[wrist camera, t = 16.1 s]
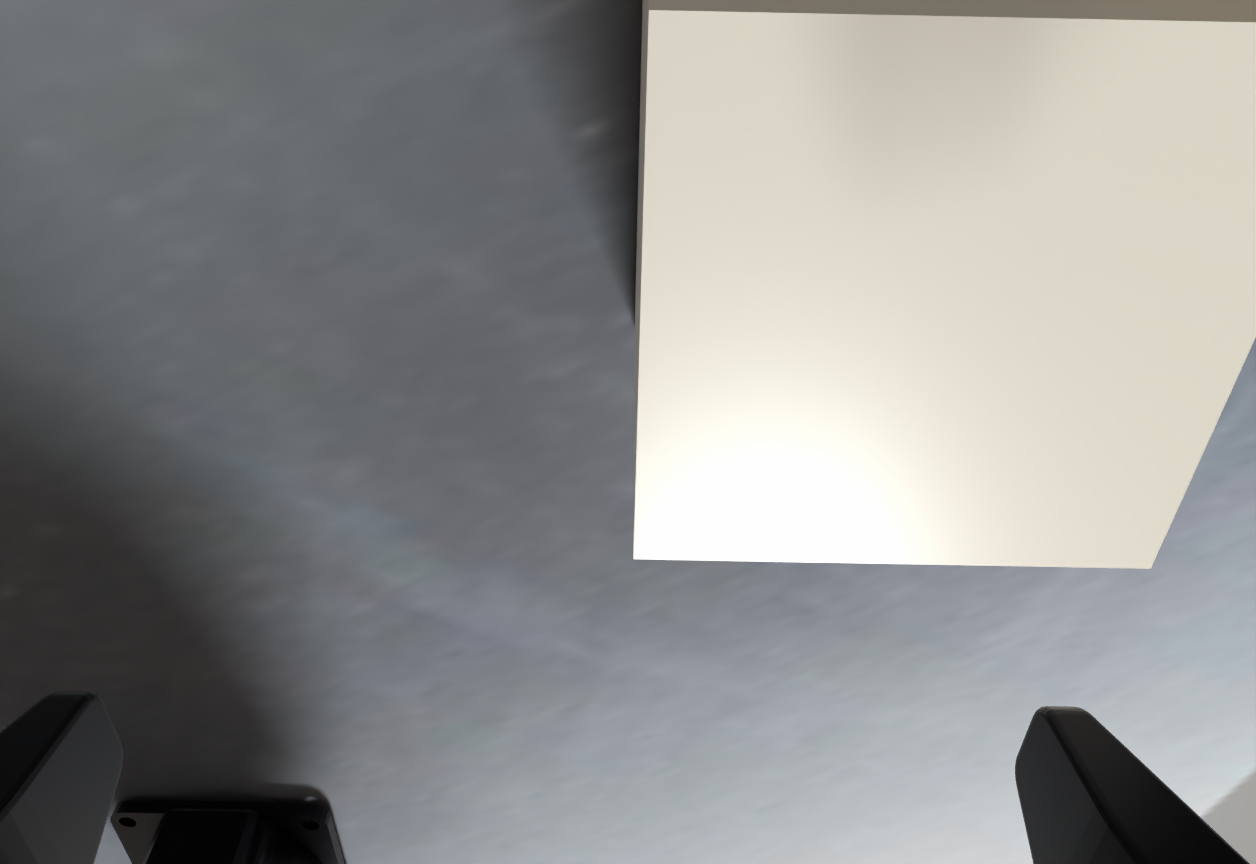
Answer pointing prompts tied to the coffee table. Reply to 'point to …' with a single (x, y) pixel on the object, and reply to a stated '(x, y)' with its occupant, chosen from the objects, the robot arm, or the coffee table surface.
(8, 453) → the coffee table surface
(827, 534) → the cream cuboid
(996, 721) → the coffee table surface
